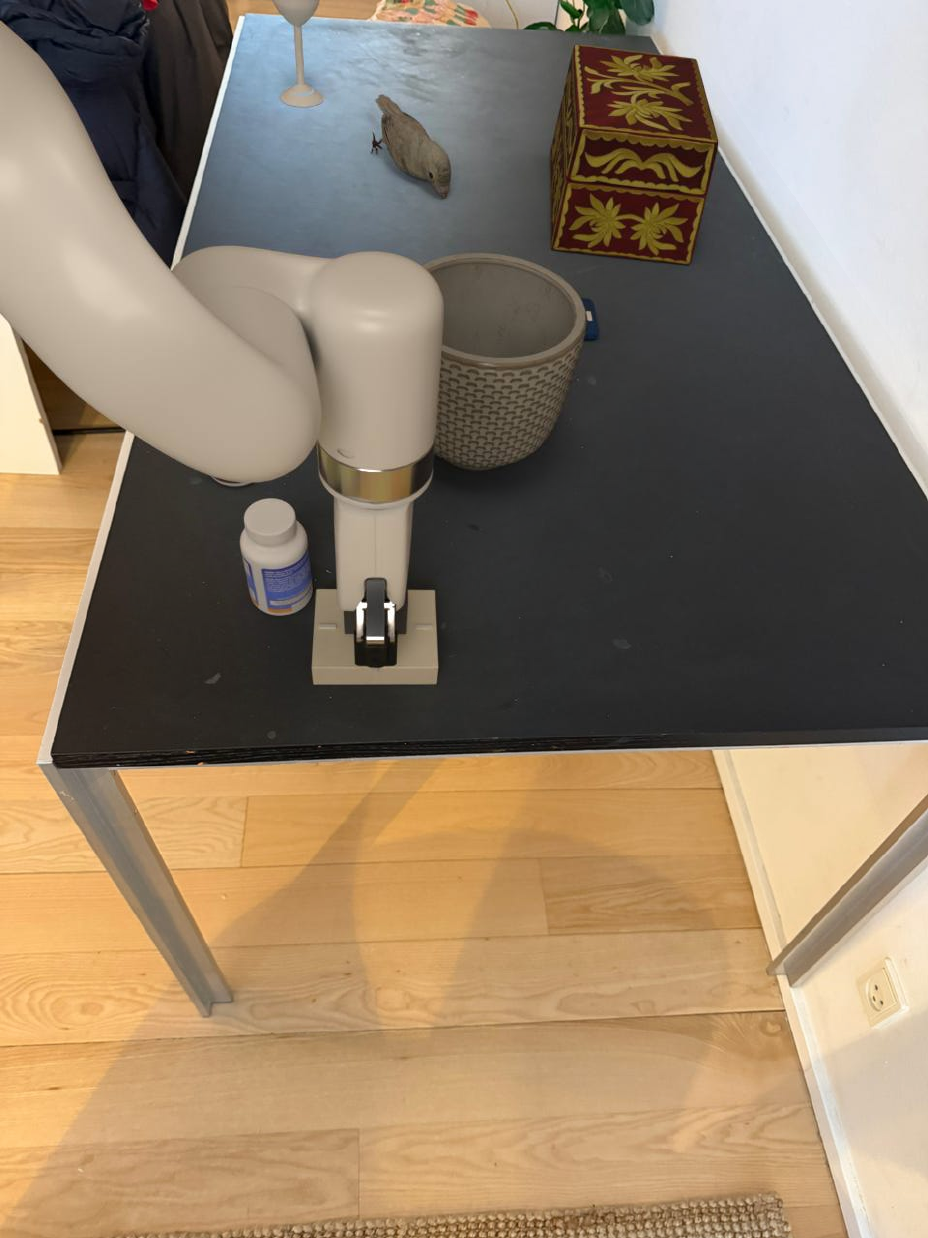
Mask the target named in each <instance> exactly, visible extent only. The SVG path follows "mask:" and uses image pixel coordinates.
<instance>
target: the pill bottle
mask: <svg viewBox="0 0 928 1238" xmlns="http://www.w3.org/2000/svg"><path fill="white" fill-rule="evenodd" d="M243 525H244V528H243V529H242V531H241V534H240V537H239V547H240V553H241V557H242V562H243V566H244V567H243V568H244V572H245V576H246V577H245V578H246V581H247V586H248V593H249V596H250V598H251V601H252V603H253V604H254V605H255V607H257V609H258V610H260V611H261V612H263V613H265V614H268V615H271V616H279V617H280V616H289V615H292V614H295V613H297V612H299V611H301V610H302V609H304V608H305V607H306V606H307V605H308V604H309V602H310V601H311V598H312V596H313V593H314V592H313V591H314V585H313V584H314V583H313V575H312V568H311V559H310V551H309V549H310V548H309V540H308V534H307V532H306V529H305V528H304V526H303V525H302V524H301V523H300V522H299V521H298V520H297V516H296V511H295V510H294V508H293V507H292V506H291V504H290V503H288V502H287V501H284V500H282V499H279V498H274V497H273V498H271V497H269V498H263V499H259V500H257V501H255V502H253V503H252V504H251V505H250V506H248V507H247V509H246V510H245V512H244V514H243Z"/></svg>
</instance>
